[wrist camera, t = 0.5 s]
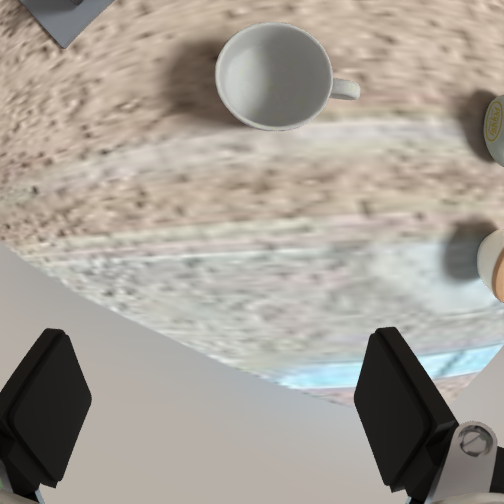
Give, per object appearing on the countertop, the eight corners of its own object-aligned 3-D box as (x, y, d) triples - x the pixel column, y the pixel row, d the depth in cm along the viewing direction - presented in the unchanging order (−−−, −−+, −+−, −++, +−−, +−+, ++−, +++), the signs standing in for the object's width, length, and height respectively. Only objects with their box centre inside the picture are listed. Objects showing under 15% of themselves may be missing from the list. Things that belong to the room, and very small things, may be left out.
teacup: (207, 116, 34) (199, 112, 26) (235, 30, 30) (235, 6, 23) (324, 152, 36) (346, 158, 28) (350, 69, 32) (378, 57, 25)
